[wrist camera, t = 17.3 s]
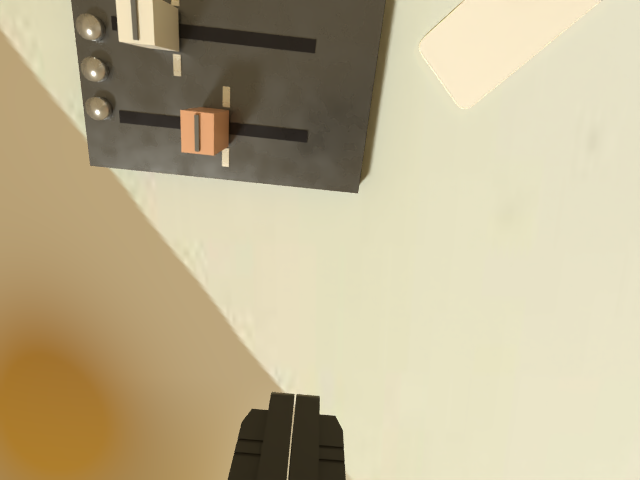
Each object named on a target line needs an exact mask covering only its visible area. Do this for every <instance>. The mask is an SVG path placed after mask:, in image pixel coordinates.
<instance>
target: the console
mask: <svg viewBox="0 0 640 480" xmlns="http://www.w3.org/2000/svg"><path fill="white" fill-rule="evenodd" d="M163 1H165V2H167V3H169V4H171V5H173V6H174V7H176V8H178V23H179V52H177V51H168V50H159V49H150V48H145V47H141V46H136V45H132V44H127V43H123V42H119V36H118V24H117V11H116V0H71V2H72V11H73V20H74V28H75V37H76V46H77V55H78V63H79V72H80V81H81V89H82V98H83V107H84V115H85V124H86V133H87V141H88V149H89V158H90V165H91V166H99V167H109V168H118V169H128V170H138V171H147V172H157V173H167V174H176V175H186V176H196V177H205V178H215V179H225V180H234V181H244V182H254V183H263V184H273V185H283V186H293V187H302V188H312V189H322V190H331V191H341V192H351V193H358V189H359V182H360V175H361V168H362V161H363V154H364V147H365V140H366V133H367V126H368V119H369V112H370V105H371V98H372V91H373V84H374V77H375V70H376V63H377V56H378V49H379V42H380V35H381V28H382V21H383V14H384V7H385V0H163ZM197 107H205V108H214V109H223V110H229V147H227V148H225V149H224V150H222V151H220V152H219V153H217V154H216V155H214V156H213V155H203V154H194V153H184V152H181V117H180V110H184V109H190V108H197Z"/></svg>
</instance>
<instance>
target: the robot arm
mask: <svg viewBox="0 0 640 480" xmlns="http://www.w3.org/2000/svg"><path fill="white" fill-rule="evenodd" d="M293 405H294V394H288V393H276V392H272V393H271V398H270V403H269V410H259V409H252V410H251V411H250V412H249V414H248V415H247V416H246V417H245V419H244V420H243V422H242V424H241V428H240V432H239V436H238V441H237V444H236V448H235V453H234V456H233V460H232V464H231V469H230V472H229V477H228V480H286V478H287V468H288V457H289V447H290V436H291V426H292V415H293ZM319 410H320V397H319V396H312V395H301V394H297V395H296V404H295V415H294V424H293V434H292V444H291V455H290V466H289V477H288V480H346V479H345V464H344V461H345V460H344V443H343V430H342V428H341V426H340V424H339V422H338V420H337V418H336V416H331V415H319Z"/></svg>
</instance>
